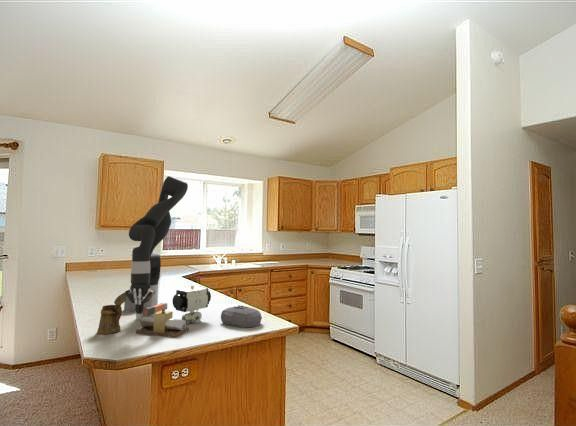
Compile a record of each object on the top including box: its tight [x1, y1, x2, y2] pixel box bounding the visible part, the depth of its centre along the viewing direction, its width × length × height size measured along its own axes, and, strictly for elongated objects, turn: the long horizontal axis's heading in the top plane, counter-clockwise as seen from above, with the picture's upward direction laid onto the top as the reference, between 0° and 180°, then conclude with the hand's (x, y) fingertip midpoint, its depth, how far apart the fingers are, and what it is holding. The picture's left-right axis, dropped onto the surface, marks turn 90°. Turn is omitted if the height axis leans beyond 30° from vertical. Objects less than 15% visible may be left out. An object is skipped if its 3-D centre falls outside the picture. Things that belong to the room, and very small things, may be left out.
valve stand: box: [135, 310, 190, 338], centre depth 146 cm, size 20×10×10 cm, turn 75°
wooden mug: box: [96, 291, 128, 336], centre depth 146 cm, size 9×14×18 cm, turn 69°
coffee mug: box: [123, 297, 136, 313], centre depth 190 cm, size 13×10×10 cm
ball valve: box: [172, 285, 212, 324], centre depth 163 cm, size 18×8×18 cm, turn 142°
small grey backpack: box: [220, 305, 263, 328], centre depth 161 cm, size 15×8×20 cm
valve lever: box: [143, 302, 168, 316], centre depth 142 cm, size 14×3×3 cm, turn 165°
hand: (139, 313), depth 139 cm, fingers closed
